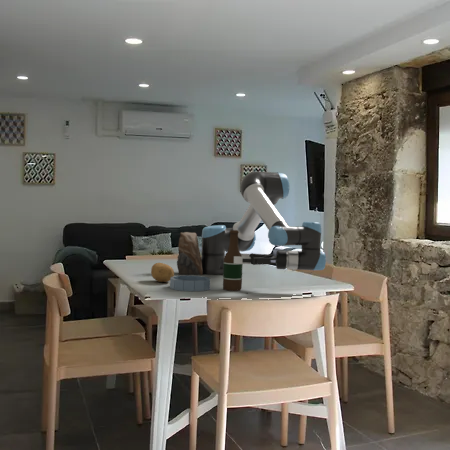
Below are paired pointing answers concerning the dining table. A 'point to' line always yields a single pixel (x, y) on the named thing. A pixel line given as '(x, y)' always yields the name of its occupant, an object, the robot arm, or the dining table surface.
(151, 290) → the dining table surface
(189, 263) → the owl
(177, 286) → the bowl
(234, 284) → the beer bottle
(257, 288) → the dining table surface
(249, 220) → the robot arm
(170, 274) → the potato
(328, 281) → the dining table surface
